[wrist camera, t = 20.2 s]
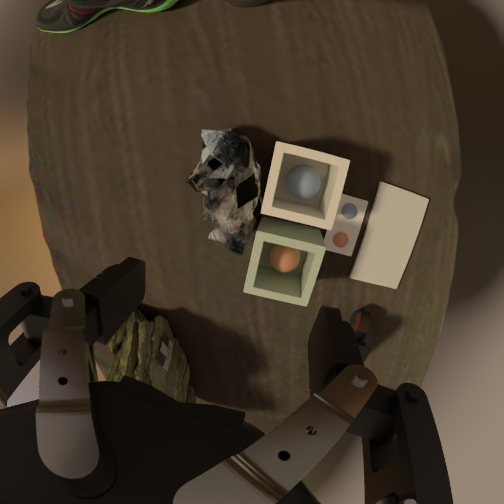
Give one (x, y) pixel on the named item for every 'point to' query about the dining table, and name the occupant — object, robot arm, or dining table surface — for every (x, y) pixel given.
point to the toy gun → (359, 331)
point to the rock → (151, 357)
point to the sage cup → (293, 282)
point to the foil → (226, 187)
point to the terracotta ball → (283, 258)
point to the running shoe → (89, 12)
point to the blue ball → (303, 181)
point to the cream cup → (310, 209)
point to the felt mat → (389, 236)
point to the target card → (346, 225)
